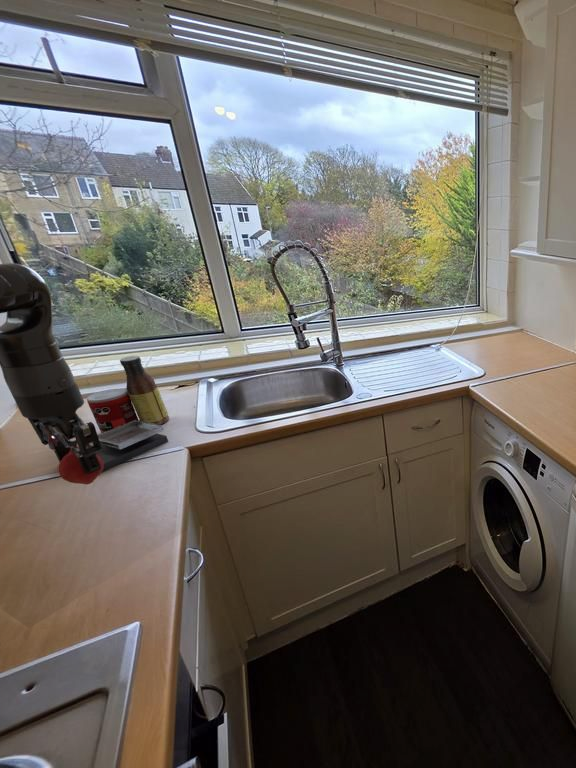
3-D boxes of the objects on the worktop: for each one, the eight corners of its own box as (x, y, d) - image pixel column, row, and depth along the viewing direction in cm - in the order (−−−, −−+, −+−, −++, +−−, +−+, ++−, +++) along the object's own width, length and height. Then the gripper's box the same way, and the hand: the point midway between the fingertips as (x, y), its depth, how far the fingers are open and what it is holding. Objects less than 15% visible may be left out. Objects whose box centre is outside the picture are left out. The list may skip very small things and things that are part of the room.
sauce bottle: (158, 416, 119) (134, 352, 111) (175, 418, 118) (153, 354, 110) (134, 427, 113) (108, 360, 106) (153, 429, 112) (127, 362, 104)
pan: (119, 449, 96) (117, 444, 96) (92, 442, 99) (89, 437, 99) (164, 430, 105) (162, 425, 105) (137, 424, 108) (135, 419, 107)
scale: (93, 477, 92) (87, 464, 91) (58, 466, 96) (52, 454, 94) (168, 441, 107) (164, 430, 105) (136, 433, 110) (131, 422, 109)
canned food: (98, 432, 111) (82, 395, 106) (135, 420, 117) (122, 386, 112) (106, 440, 107) (90, 403, 102) (145, 428, 113) (131, 392, 108)
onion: (60, 488, 76) (42, 451, 73) (98, 471, 81) (83, 436, 78) (78, 496, 74) (60, 459, 71) (116, 478, 79) (101, 443, 76)
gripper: (-13, 387, 68) (30, 471, 75) (41, 400, 64) (82, 487, 71) (46, 372, 75) (81, 450, 81) (98, 383, 71) (131, 464, 77)
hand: (81, 467), depth 76 cm, fingers closed on onion, 6 cm apart
